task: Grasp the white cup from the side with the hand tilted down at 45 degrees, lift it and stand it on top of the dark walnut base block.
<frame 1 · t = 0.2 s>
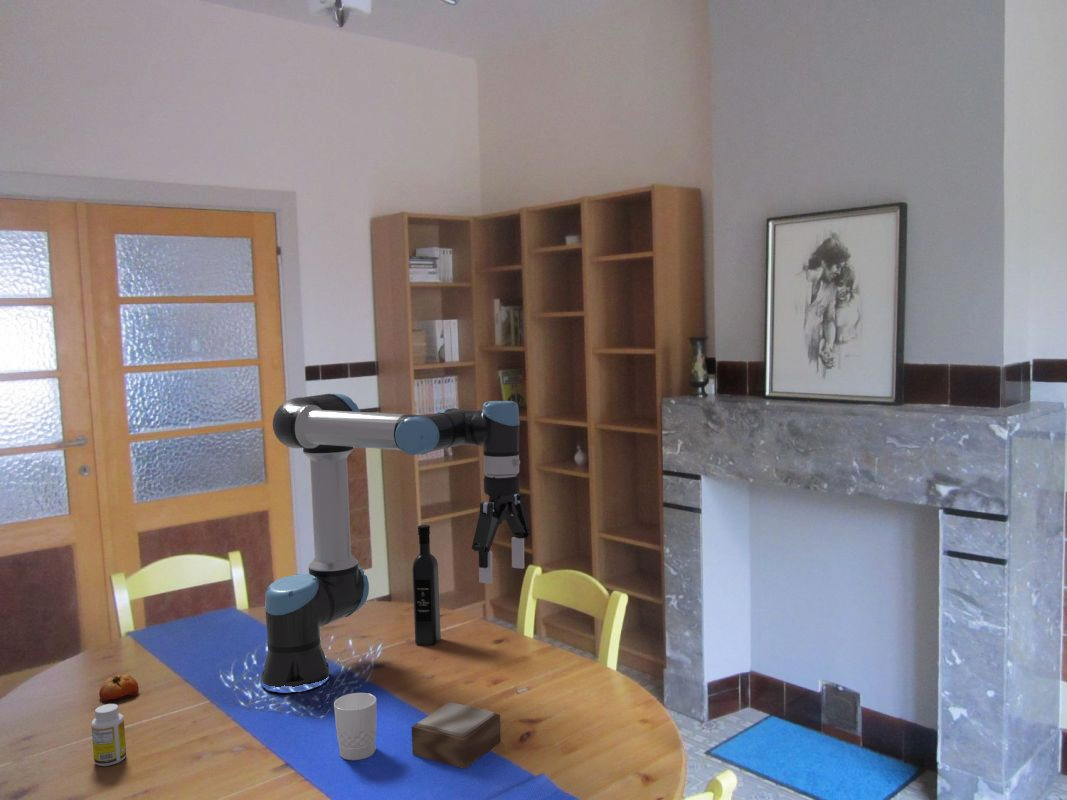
hand: (502, 575, 188), 27 cm above the table, tool pointing down, fingers open, 13 cm apart
tomato: (119, 697, 199), on the table
white cup: (357, 753, 169), on the table
supplement bottle: (110, 761, 169), on the table
base: (457, 747, 170), on the table
wine bottle: (428, 642, 228), on the table
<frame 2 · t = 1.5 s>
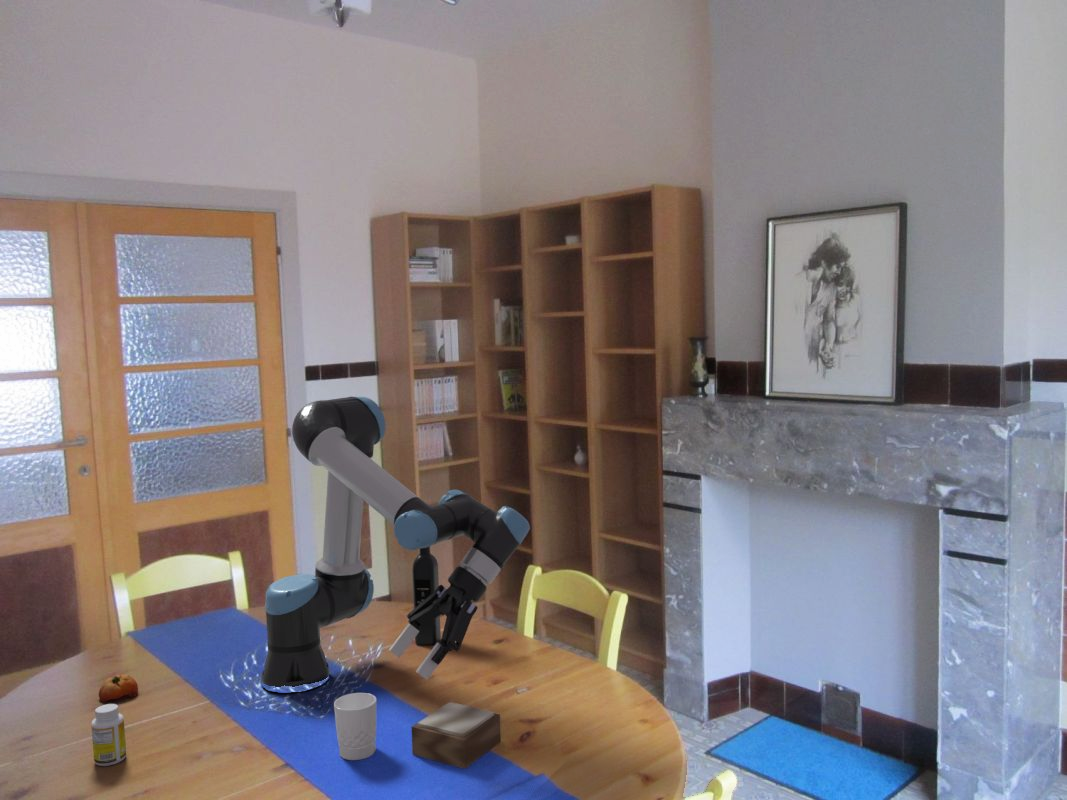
hand: (407, 664, 173), 15 cm above the table, tool tilted 45°, fingers open, 13 cm apart
nothing on the table moved.
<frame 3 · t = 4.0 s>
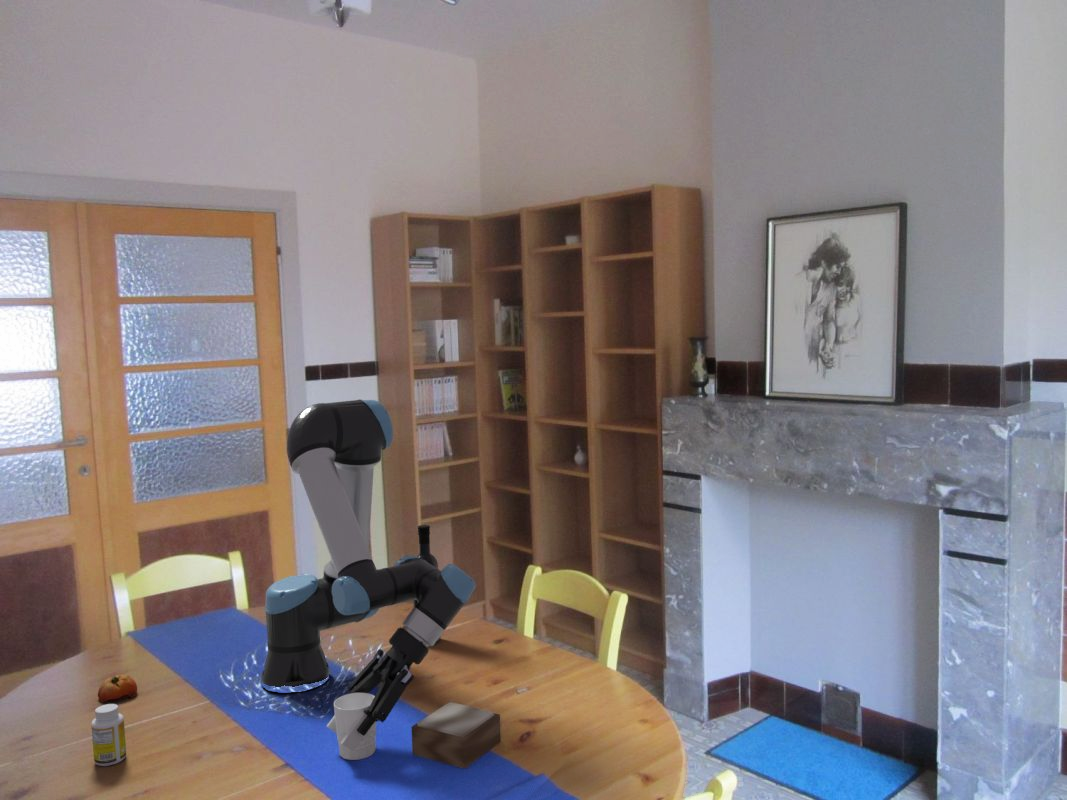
hand: (339, 738, 167), 4 cm above the table, tool tilted 45°, fingers closed on white cup, 8 cm apart
white cup: (357, 753, 169), on the table, touching gripper
everything else where it was.
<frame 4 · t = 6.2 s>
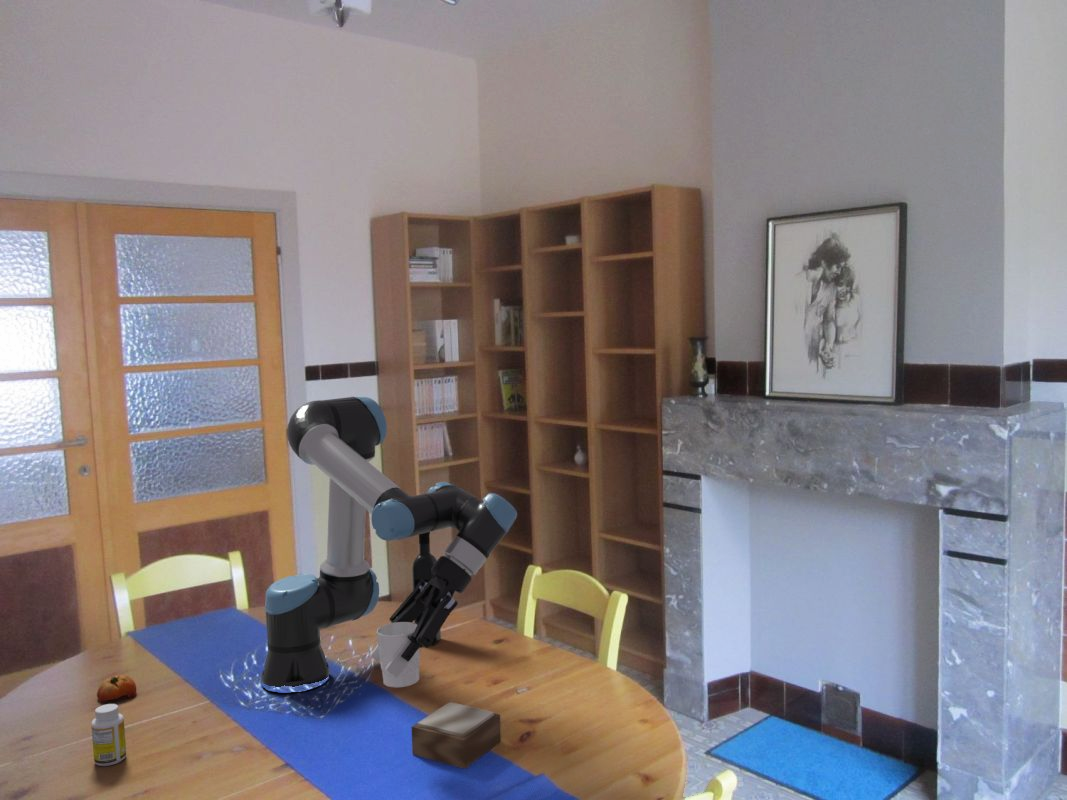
hand: (383, 666, 165), 18 cm above the table, tool tilted 45°, fingers closed on white cup, 8 cm apart
white cup: (401, 681, 167), point 14 cm above the table, touching gripper
everything else where it was.
when the fingers open (11 cm above the table, at t = 8.2 s): white cup drops 1 cm, resting on base.
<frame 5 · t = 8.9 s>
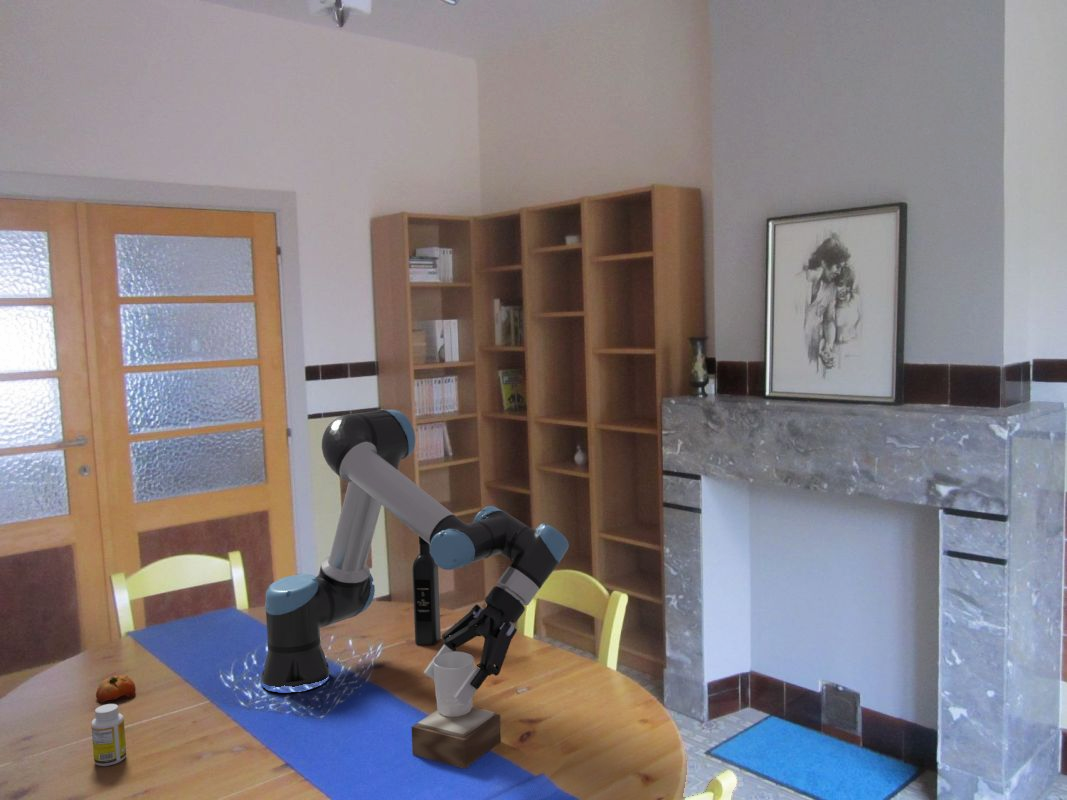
hand: (443, 688, 168), 12 cm above the table, tool tilted 45°, fingers open, 13 cm apart
white cup: (454, 709, 173), point 6 cm above the table, touching base, gripper
everything else where it was.
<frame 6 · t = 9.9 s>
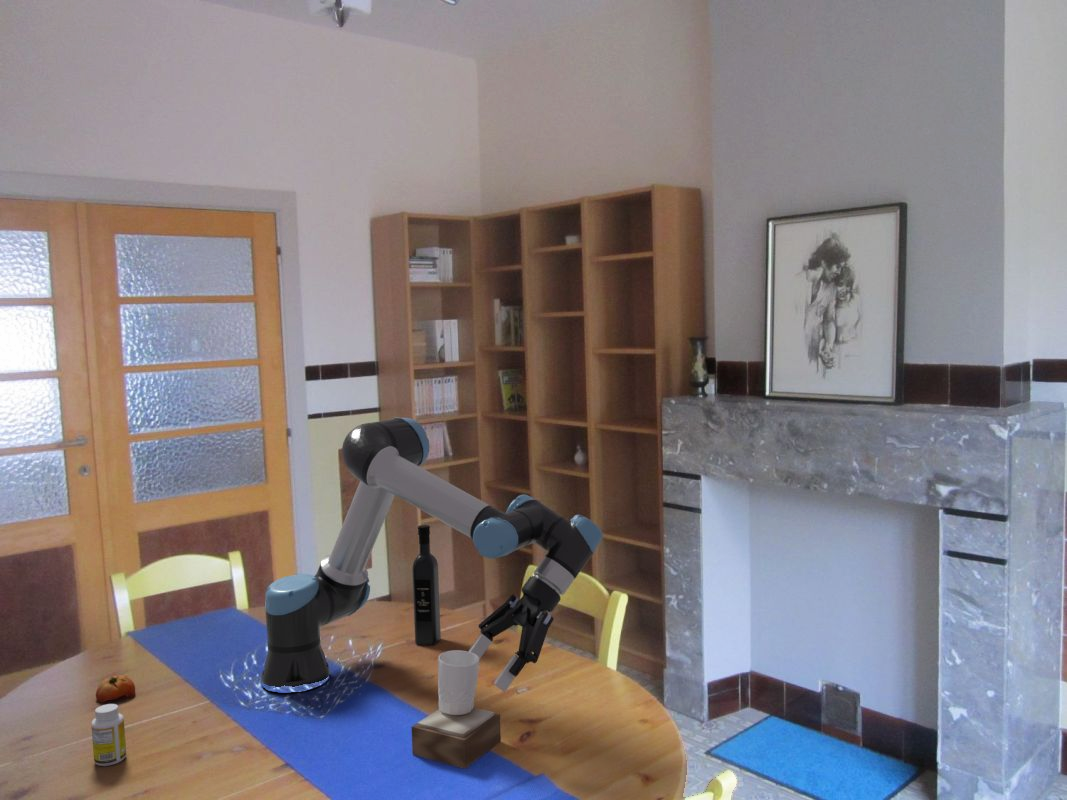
hand: (482, 676, 171), 13 cm above the table, tool tilted 45°, fingers open, 13 cm apart
white cup: (455, 708, 173), point 6 cm above the table, touching base
everything else where it was.
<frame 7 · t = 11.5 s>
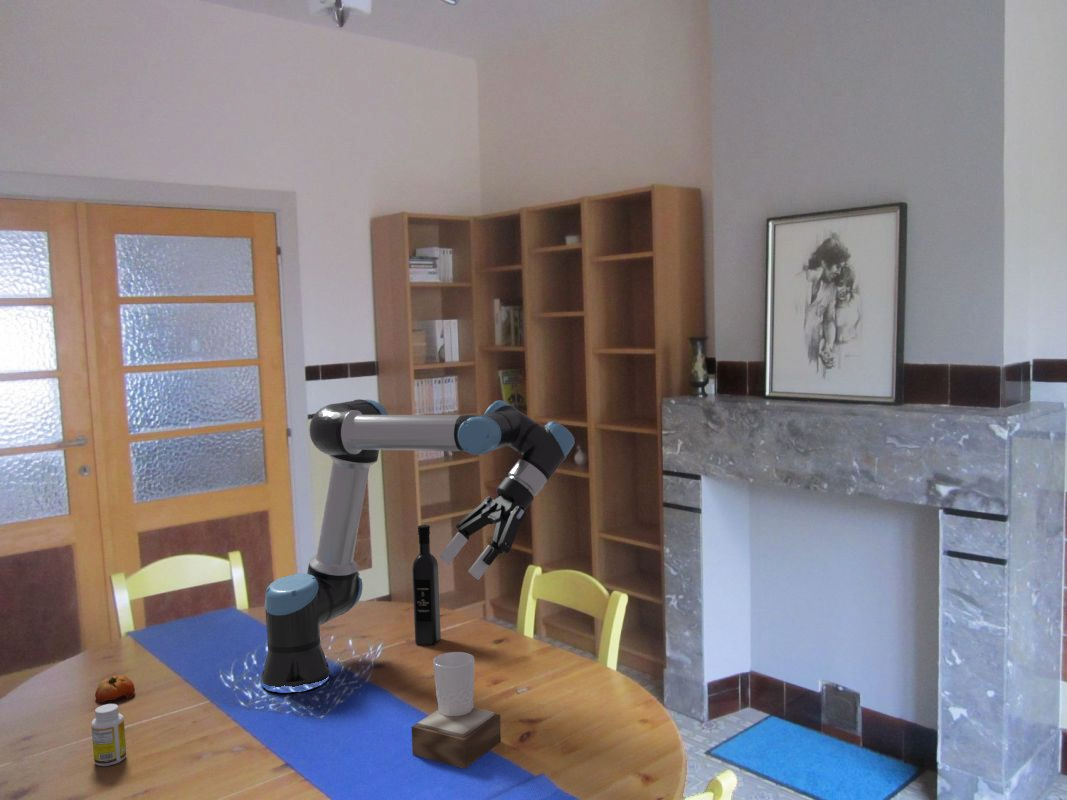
hand: (457, 568, 181), 31 cm above the table, tool tilted 45°, fingers open, 13 cm apart
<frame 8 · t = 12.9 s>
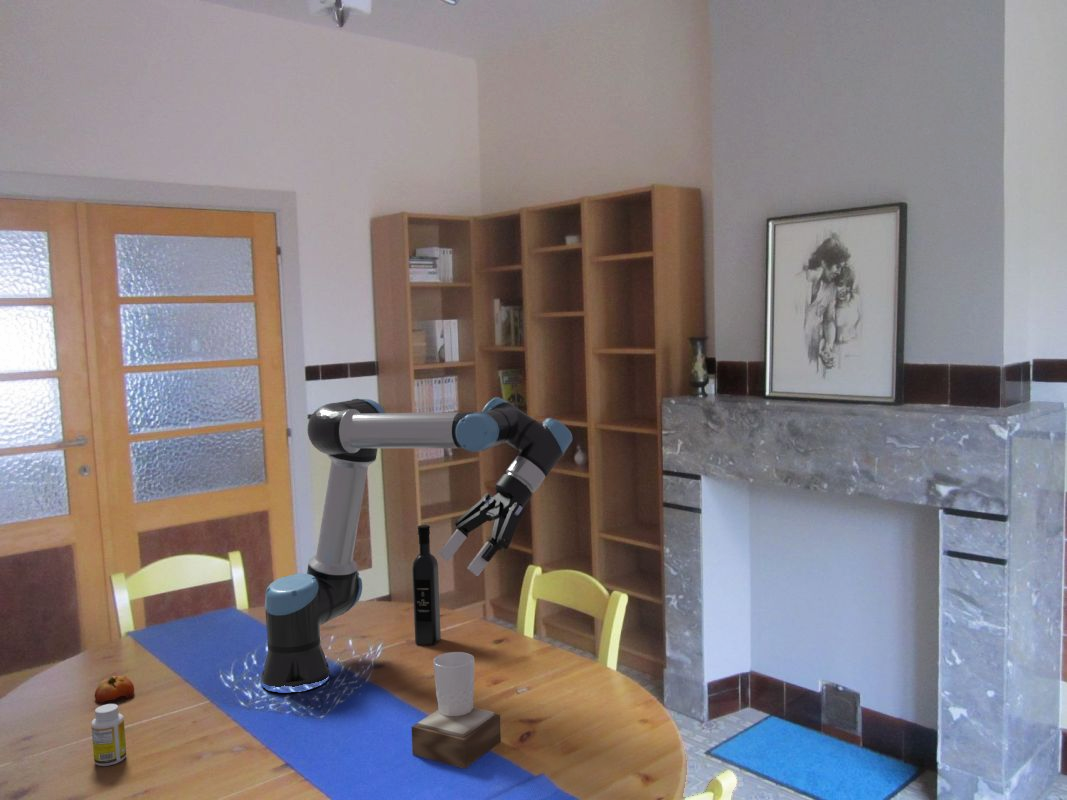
hand: (456, 565, 181), 32 cm above the table, tool tilted 45°, fingers open, 13 cm apart
nothing on the table moved.
at the end: white cup 3.6 cm from the base (horizontally); white cup point 5.8 cm above the table; white cup tilted 0° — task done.
